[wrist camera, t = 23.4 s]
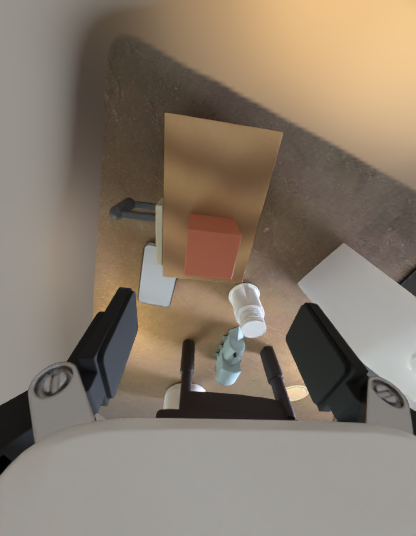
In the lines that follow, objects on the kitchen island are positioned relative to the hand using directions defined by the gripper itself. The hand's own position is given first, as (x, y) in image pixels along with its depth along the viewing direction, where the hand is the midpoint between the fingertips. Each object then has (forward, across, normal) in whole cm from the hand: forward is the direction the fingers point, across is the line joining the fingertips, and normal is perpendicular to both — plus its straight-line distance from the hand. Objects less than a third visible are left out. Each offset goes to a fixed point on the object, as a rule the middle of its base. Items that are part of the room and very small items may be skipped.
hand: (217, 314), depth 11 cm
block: (+12, 0, 0) cm, 12 cm away
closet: (+26, 0, -2) cm, 26 cm away
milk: (+26, -30, +12) cm, 42 cm away
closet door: (+25, +9, +2) cm, 27 cm away
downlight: (+26, -11, +19) cm, 34 cm away
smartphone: (+26, +8, +16) cm, 32 cm away
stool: (+26, -11, +37) cm, 47 cm away
